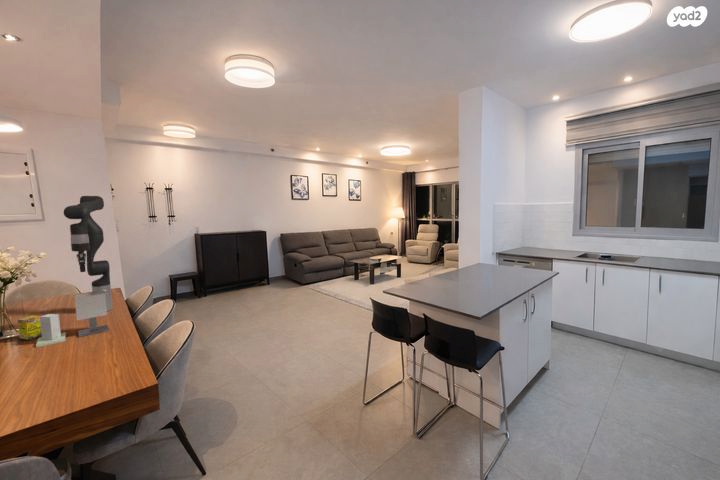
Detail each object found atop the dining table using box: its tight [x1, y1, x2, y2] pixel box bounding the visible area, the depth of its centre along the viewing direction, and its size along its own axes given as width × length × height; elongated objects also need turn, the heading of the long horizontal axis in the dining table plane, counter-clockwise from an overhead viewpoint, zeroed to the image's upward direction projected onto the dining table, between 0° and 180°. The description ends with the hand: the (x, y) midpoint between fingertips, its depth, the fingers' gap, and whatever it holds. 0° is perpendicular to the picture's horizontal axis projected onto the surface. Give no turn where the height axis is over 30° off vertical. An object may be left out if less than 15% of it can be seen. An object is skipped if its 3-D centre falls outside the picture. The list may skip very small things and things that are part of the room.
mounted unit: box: [74, 291, 109, 338], centre depth 162 cm, size 9×12×21 cm
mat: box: [35, 332, 67, 348], centre depth 152 cm, size 11×10×1 cm
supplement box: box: [17, 315, 42, 342], centre depth 155 cm, size 6×6×11 cm
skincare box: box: [39, 313, 62, 340], centre depth 152 cm, size 6×4×12 cm
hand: (82, 270), depth 169 cm, fingers open, 8 cm apart
